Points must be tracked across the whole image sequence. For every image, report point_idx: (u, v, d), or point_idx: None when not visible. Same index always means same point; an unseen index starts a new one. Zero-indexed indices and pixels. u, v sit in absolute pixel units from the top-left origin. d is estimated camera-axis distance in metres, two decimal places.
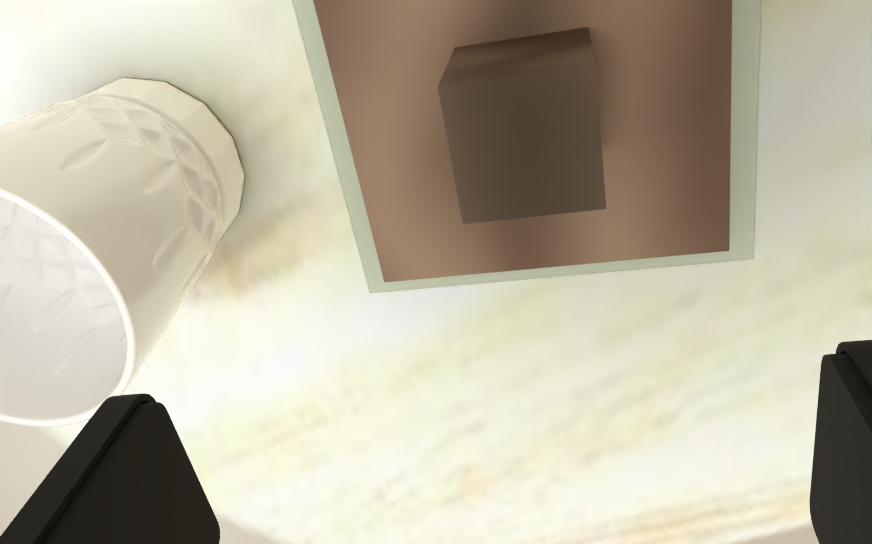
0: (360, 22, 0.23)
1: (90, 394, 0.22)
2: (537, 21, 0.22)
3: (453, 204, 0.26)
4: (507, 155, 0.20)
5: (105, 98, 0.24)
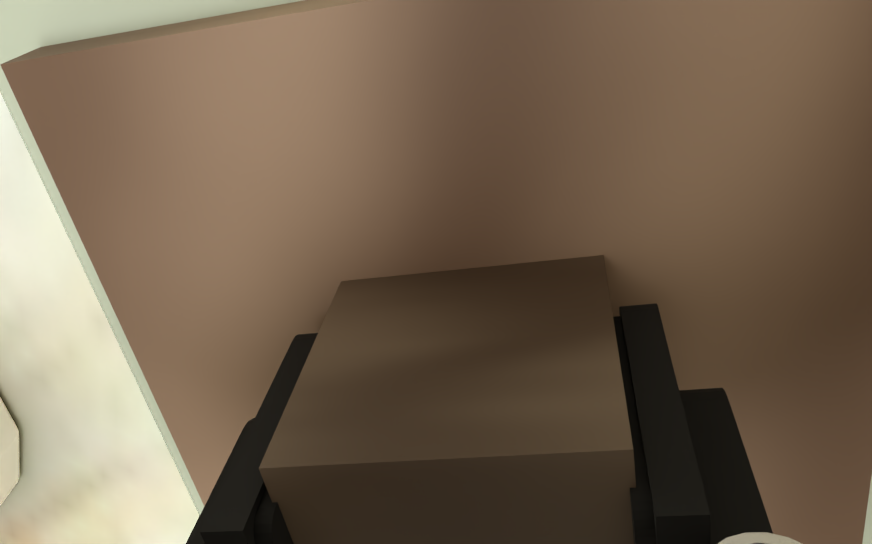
0: (156, 233, 0.12)
1: None
2: (500, 242, 0.11)
3: None
4: None
5: None
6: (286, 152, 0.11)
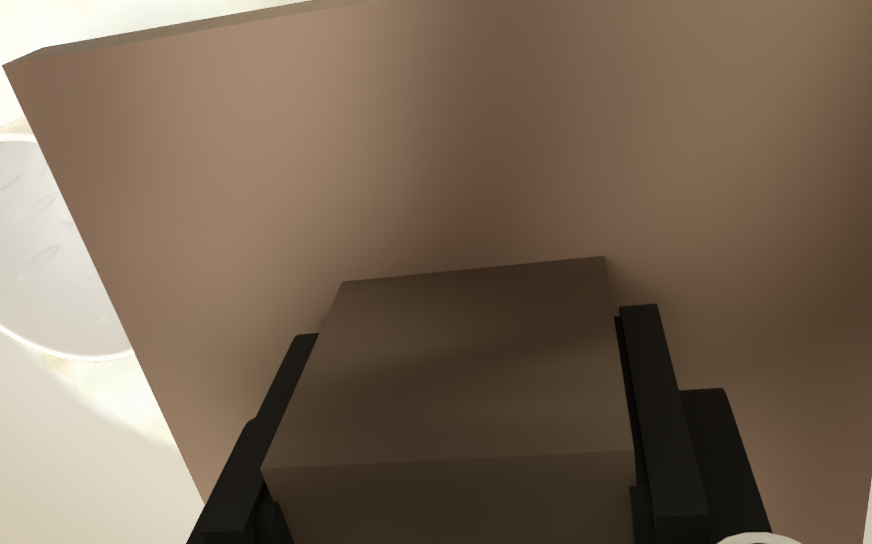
0: (157, 233, 0.12)
1: None
2: (502, 244, 0.11)
3: None
4: None
5: None
6: (287, 153, 0.11)
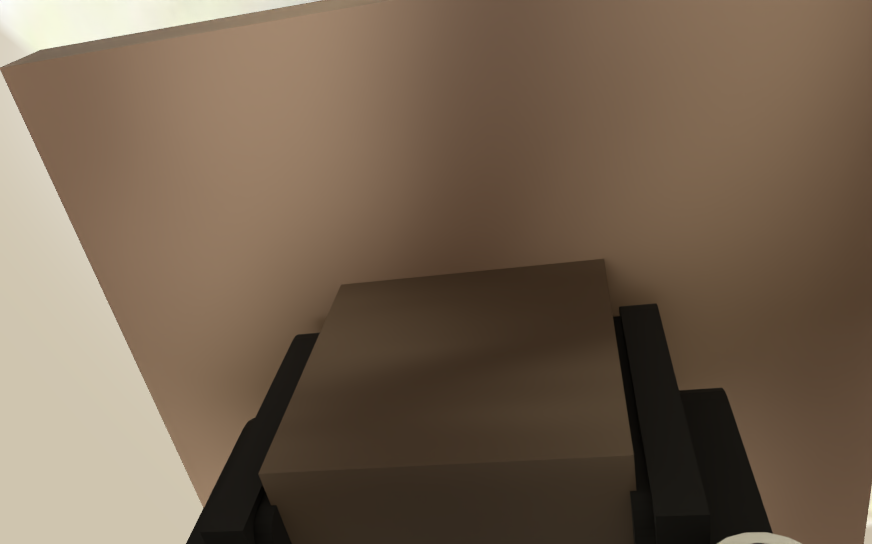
0: (155, 236, 0.12)
1: None
2: (500, 246, 0.11)
3: None
4: None
5: None
6: (286, 156, 0.11)
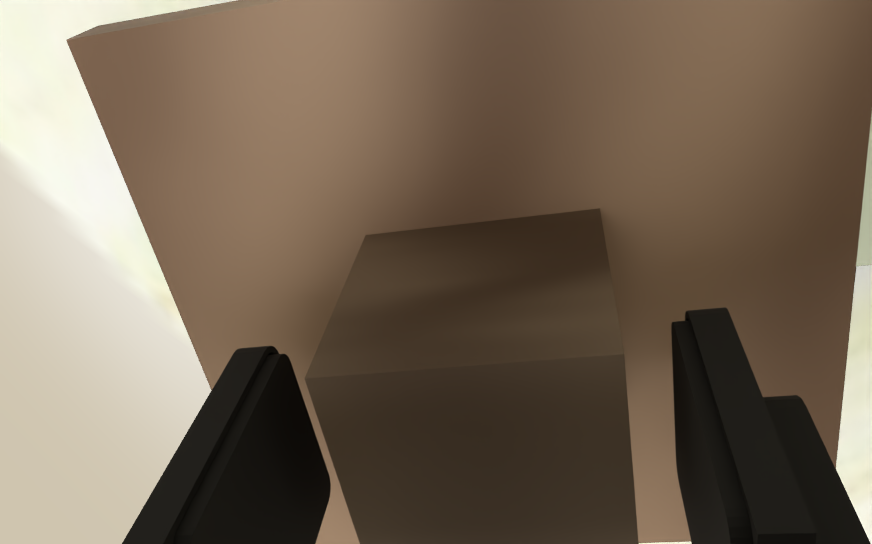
0: (200, 192, 0.13)
1: None
2: (508, 198, 0.12)
3: None
4: (450, 490, 0.10)
5: None
6: (319, 117, 0.12)
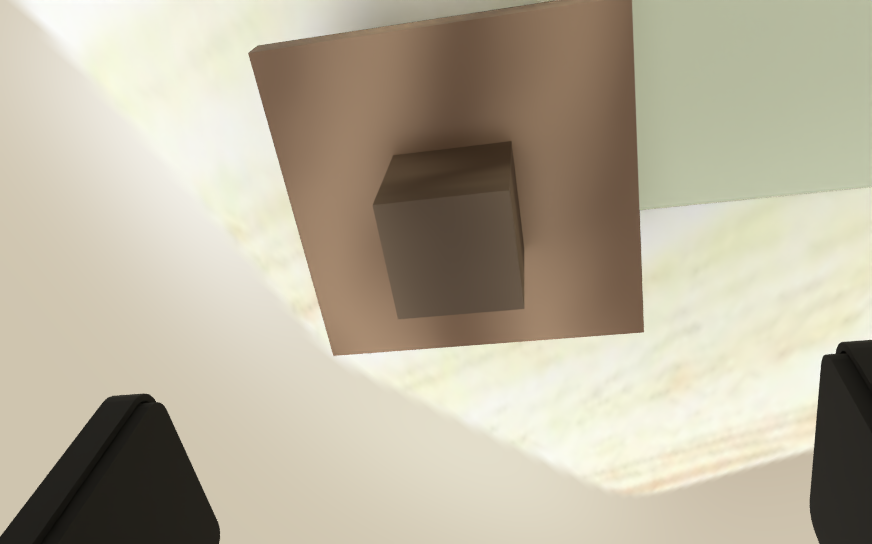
0: (308, 132, 0.25)
1: None
2: (466, 135, 0.25)
3: None
4: (435, 262, 0.23)
5: None
6: (372, 93, 0.24)
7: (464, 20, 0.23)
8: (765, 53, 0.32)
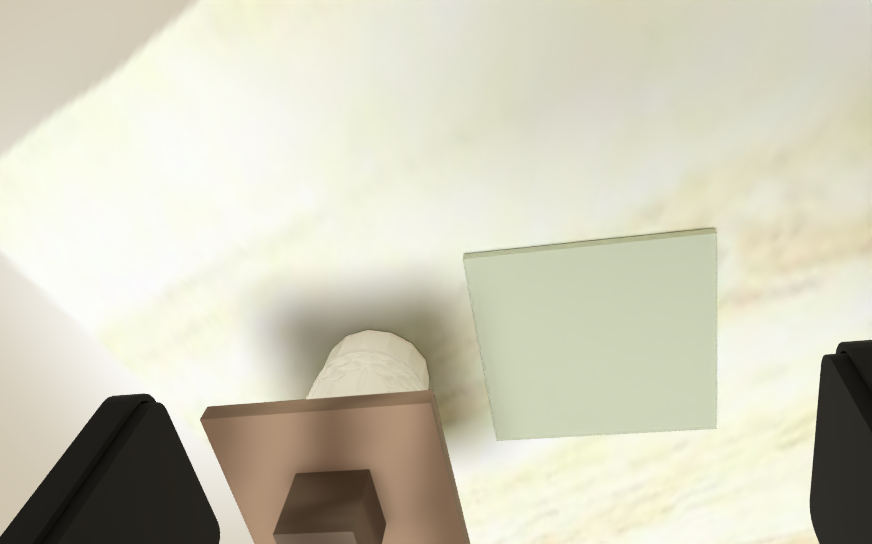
0: (240, 459, 0.39)
1: None
2: (340, 465, 0.38)
3: None
4: None
5: (373, 355, 0.45)
6: (279, 442, 0.38)
7: (331, 409, 0.37)
8: (574, 351, 0.46)
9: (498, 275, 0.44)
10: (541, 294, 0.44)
